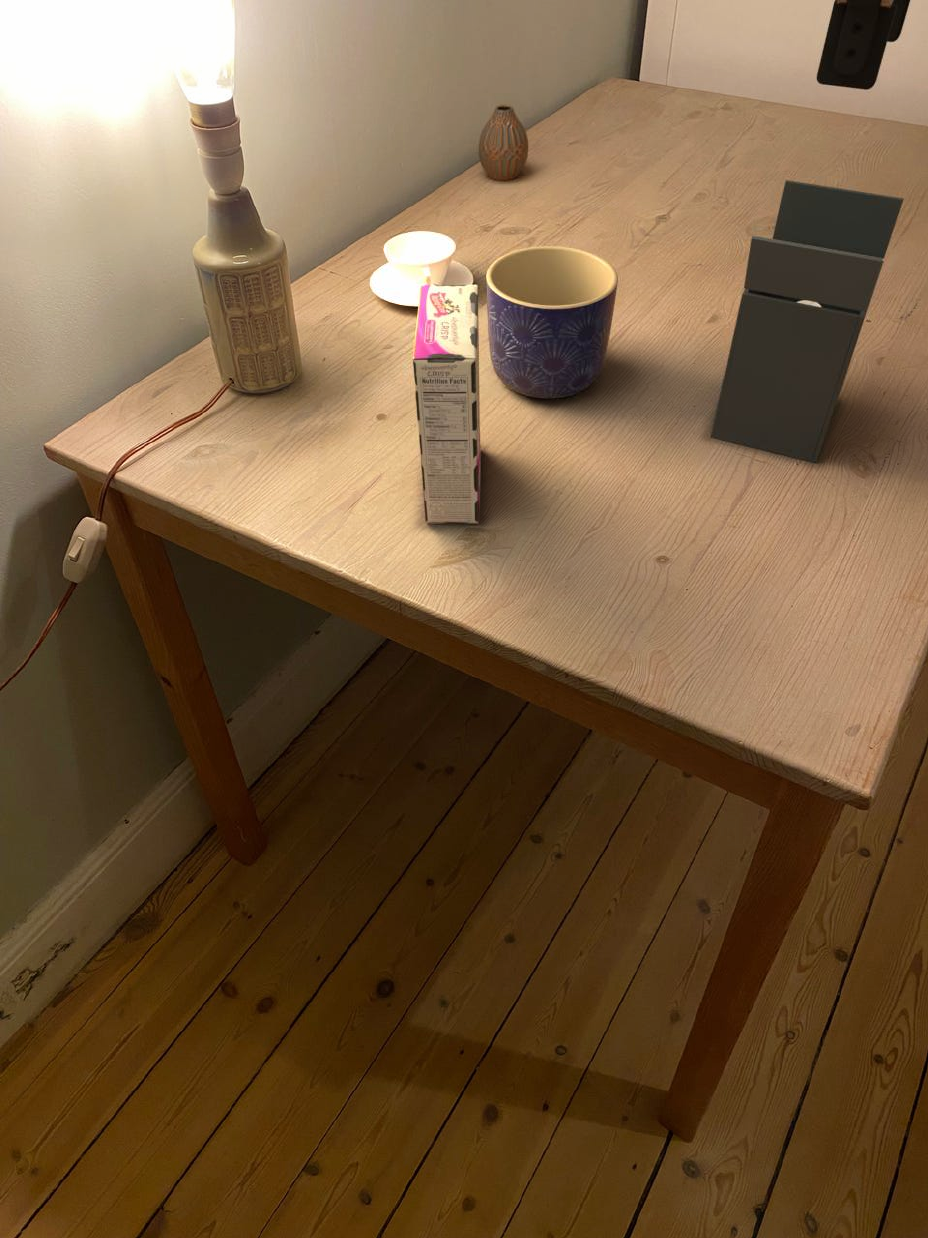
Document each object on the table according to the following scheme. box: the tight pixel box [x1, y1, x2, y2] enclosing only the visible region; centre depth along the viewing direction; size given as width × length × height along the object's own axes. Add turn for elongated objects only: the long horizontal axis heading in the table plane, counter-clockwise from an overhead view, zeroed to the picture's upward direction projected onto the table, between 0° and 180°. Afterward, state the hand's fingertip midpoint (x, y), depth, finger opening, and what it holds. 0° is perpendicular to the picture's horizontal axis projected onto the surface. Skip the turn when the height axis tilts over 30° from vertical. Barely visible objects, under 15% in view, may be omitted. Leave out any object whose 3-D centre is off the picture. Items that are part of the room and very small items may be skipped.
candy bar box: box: [412, 284, 482, 525], centre depth 76 cm, size 11×5×16 cm, turn 179°
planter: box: [485, 245, 619, 399], centre depth 90 cm, size 12×12×11 cm
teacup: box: [369, 231, 474, 307], centre depth 105 cm, size 12×12×5 cm
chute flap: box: [743, 235, 884, 312], centre depth 71 cm, size 5×10×1 cm
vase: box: [478, 104, 529, 181], centre depth 126 cm, size 7×7×9 cm
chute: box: [710, 179, 905, 464], centre depth 81 cm, size 12×10×20 cm
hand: (858, 60), depth 55 cm, fingers open, 9 cm apart
